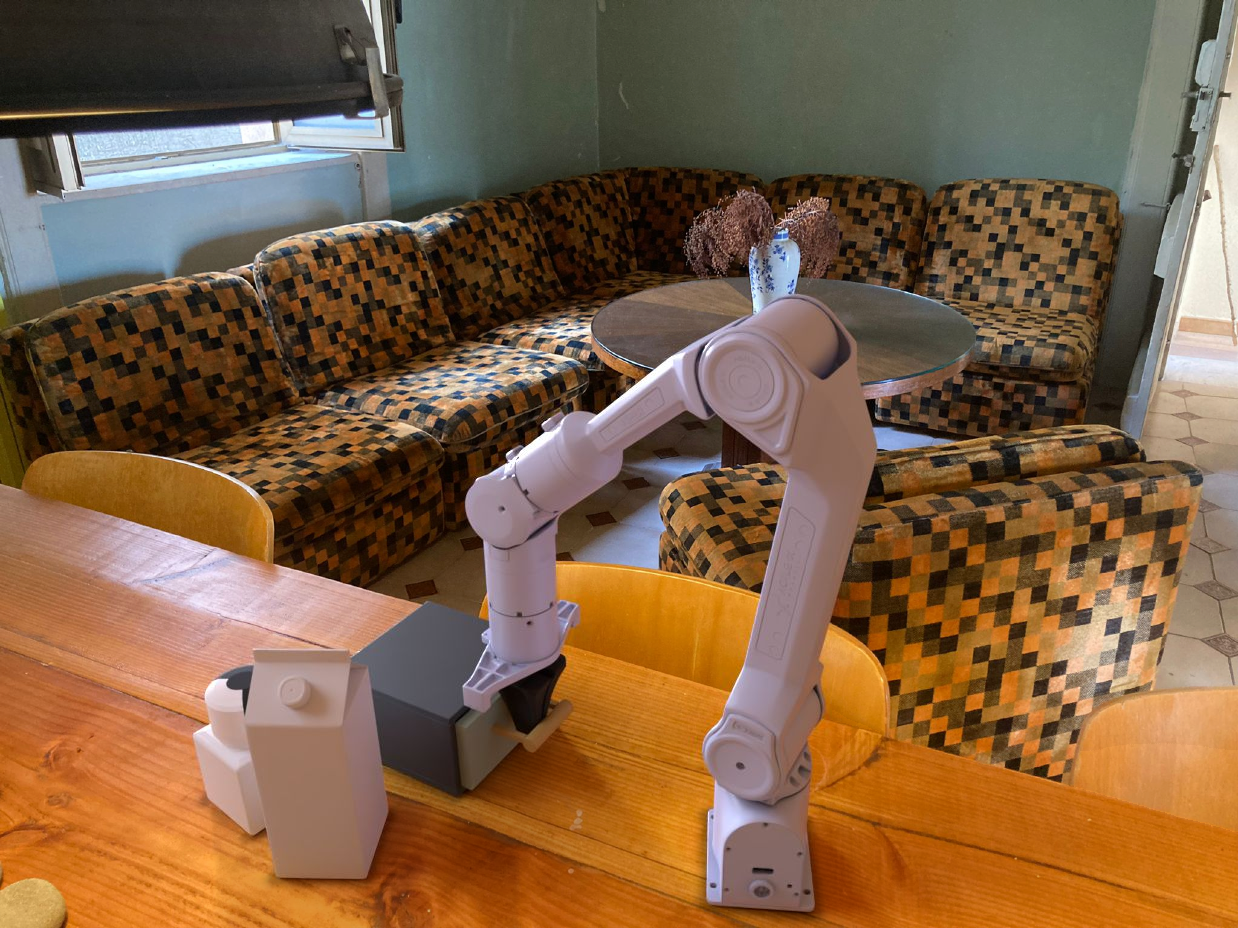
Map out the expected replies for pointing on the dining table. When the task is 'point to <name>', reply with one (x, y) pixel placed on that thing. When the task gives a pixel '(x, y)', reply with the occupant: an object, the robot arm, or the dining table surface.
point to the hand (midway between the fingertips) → (529, 729)
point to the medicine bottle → (229, 750)
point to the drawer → (499, 737)
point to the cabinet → (423, 690)
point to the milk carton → (316, 761)
